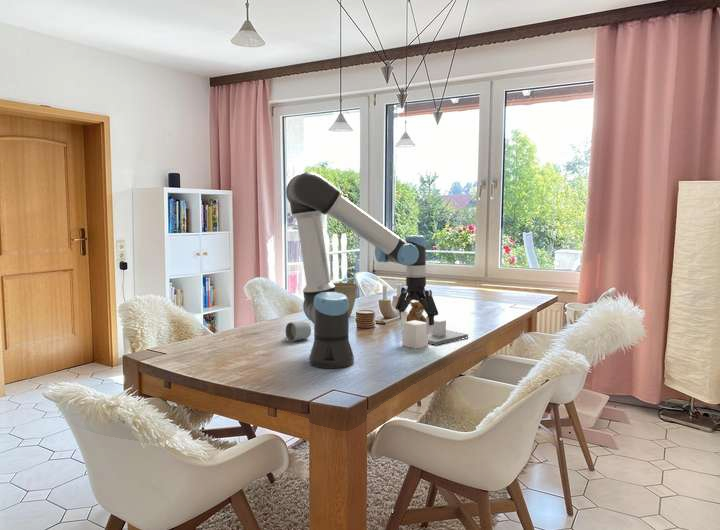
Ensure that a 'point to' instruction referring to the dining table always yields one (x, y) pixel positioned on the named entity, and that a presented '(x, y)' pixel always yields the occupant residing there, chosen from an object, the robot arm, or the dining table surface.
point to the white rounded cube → (414, 334)
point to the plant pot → (347, 292)
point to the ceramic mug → (297, 331)
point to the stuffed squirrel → (416, 312)
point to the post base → (446, 337)
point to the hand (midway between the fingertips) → (416, 330)
